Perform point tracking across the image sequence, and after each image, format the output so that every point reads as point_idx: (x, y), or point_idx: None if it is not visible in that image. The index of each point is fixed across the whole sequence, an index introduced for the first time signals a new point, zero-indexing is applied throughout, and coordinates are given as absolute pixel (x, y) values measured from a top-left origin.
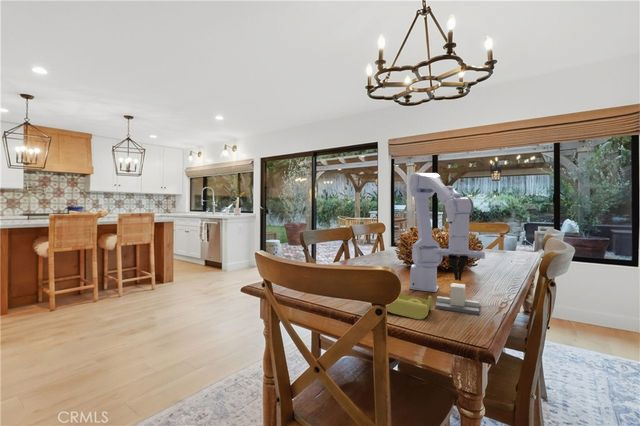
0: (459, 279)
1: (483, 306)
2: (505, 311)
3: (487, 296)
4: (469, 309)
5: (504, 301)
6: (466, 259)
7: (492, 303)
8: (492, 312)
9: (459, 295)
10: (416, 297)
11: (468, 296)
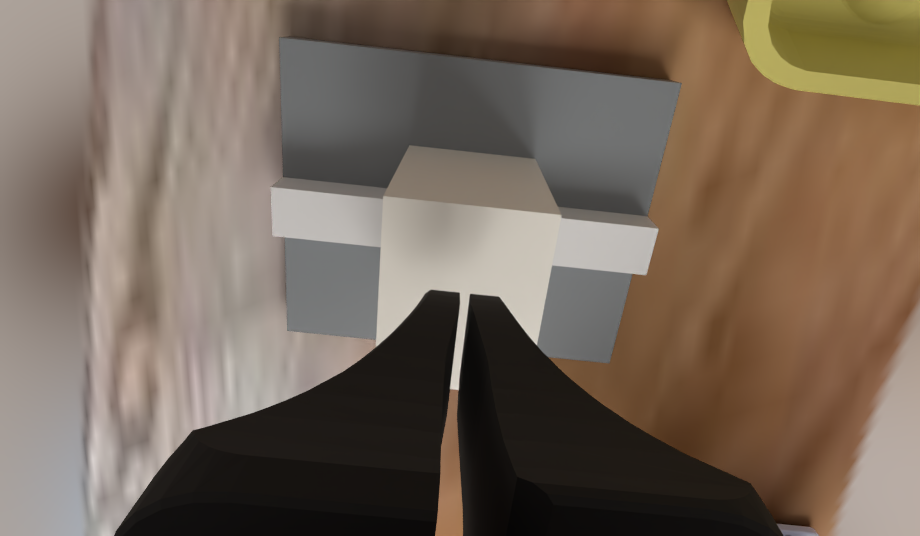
0: (441, 294)
1: (265, 293)
2: (101, 226)
3: None
4: (364, 61)
5: (135, 461)
6: (152, 498)
7: (207, 390)
8: (190, 158)
9: (448, 174)
10: (913, 82)
11: None
